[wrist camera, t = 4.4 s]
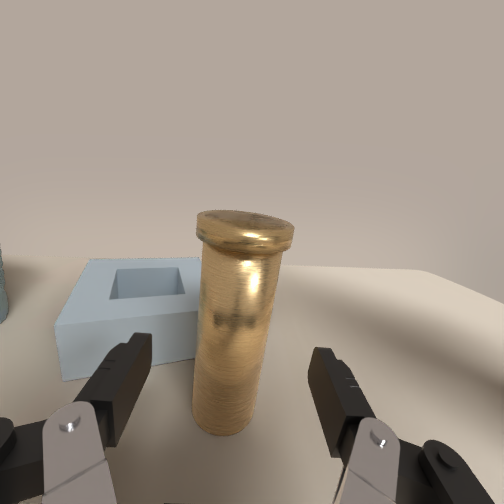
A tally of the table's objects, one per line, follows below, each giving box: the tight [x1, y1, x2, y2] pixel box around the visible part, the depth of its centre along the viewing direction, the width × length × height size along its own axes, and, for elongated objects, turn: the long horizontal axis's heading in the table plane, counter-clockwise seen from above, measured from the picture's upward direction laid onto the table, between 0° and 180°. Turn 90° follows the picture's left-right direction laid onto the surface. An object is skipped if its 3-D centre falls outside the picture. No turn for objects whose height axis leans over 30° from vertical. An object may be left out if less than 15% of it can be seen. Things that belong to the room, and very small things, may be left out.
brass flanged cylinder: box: [192, 210, 294, 436], centre depth 16 cm, size 5×5×14 cm
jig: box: [54, 257, 202, 382], centre depth 25 cm, size 12×12×5 cm
